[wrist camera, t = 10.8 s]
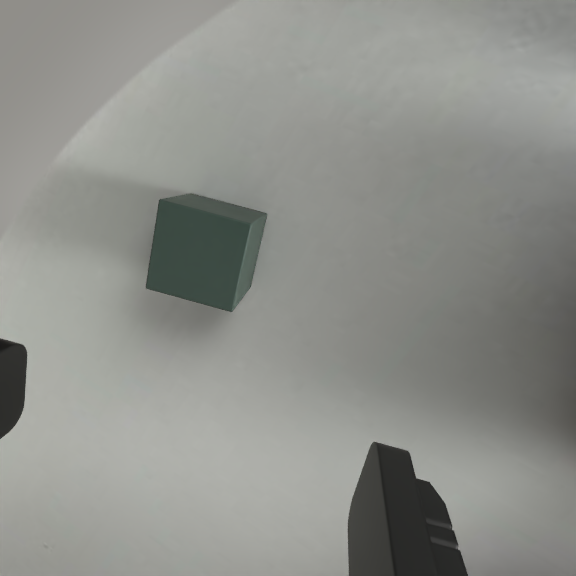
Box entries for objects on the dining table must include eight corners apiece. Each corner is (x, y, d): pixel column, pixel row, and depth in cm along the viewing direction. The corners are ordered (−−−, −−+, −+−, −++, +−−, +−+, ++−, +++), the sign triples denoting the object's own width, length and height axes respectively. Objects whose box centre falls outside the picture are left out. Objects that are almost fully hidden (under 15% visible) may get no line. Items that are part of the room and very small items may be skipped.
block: (190, 193, 24) (158, 199, 19) (267, 213, 24) (252, 223, 19) (177, 268, 25) (144, 288, 21) (250, 288, 25) (232, 312, 21)
